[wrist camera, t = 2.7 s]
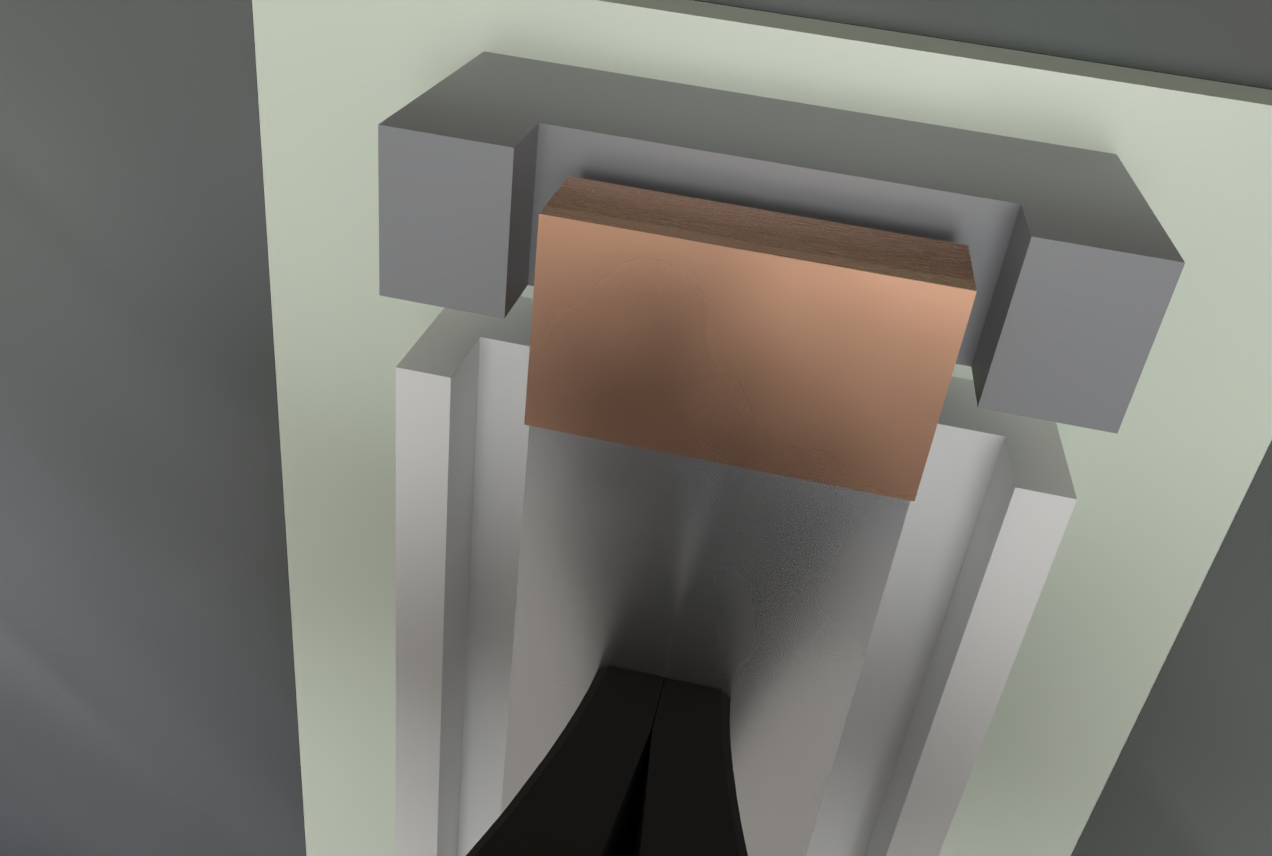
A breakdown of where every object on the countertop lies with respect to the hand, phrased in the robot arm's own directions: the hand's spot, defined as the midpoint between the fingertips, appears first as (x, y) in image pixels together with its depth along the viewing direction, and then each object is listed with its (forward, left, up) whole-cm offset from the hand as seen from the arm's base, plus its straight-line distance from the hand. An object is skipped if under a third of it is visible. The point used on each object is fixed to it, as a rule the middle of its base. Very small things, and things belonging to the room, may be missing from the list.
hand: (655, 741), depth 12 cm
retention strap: (-1, 0, -1) cm, 2 cm away
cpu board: (-2, 0, -4) cm, 5 cm away
